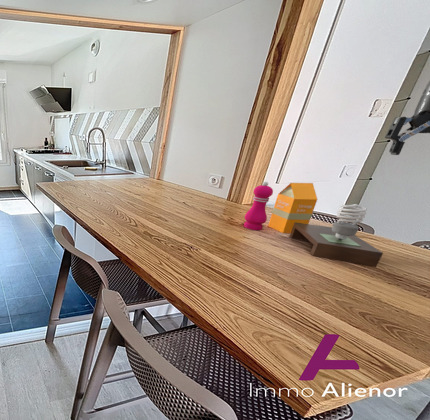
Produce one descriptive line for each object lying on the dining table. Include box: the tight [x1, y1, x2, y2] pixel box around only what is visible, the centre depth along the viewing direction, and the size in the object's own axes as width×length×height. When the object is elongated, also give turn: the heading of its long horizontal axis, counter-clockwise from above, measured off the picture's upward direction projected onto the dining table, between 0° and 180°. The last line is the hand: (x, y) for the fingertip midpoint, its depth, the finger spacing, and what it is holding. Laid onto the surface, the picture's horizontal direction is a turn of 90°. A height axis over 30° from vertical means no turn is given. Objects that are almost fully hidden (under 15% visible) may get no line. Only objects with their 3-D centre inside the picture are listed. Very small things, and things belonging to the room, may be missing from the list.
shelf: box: [289, 222, 384, 268], centre depth 83 cm, size 14×20×6 cm
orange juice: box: [267, 182, 318, 234], centre depth 99 cm, size 8×9×20 cm
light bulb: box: [331, 203, 367, 240], centre depth 77 cm, size 6×6×12 cm
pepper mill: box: [243, 181, 274, 231], centre depth 100 cm, size 7×7×20 cm
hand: (416, 155), depth 69 cm, fingers open, 8 cm apart
